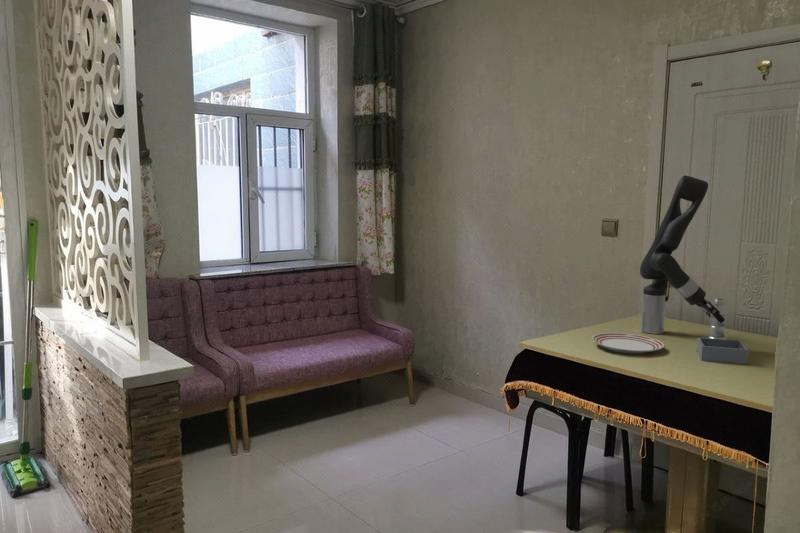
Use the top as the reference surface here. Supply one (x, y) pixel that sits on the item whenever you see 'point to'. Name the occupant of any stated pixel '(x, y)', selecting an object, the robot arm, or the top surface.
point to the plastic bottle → (716, 327)
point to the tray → (722, 350)
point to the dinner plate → (627, 343)
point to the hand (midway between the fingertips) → (718, 319)
